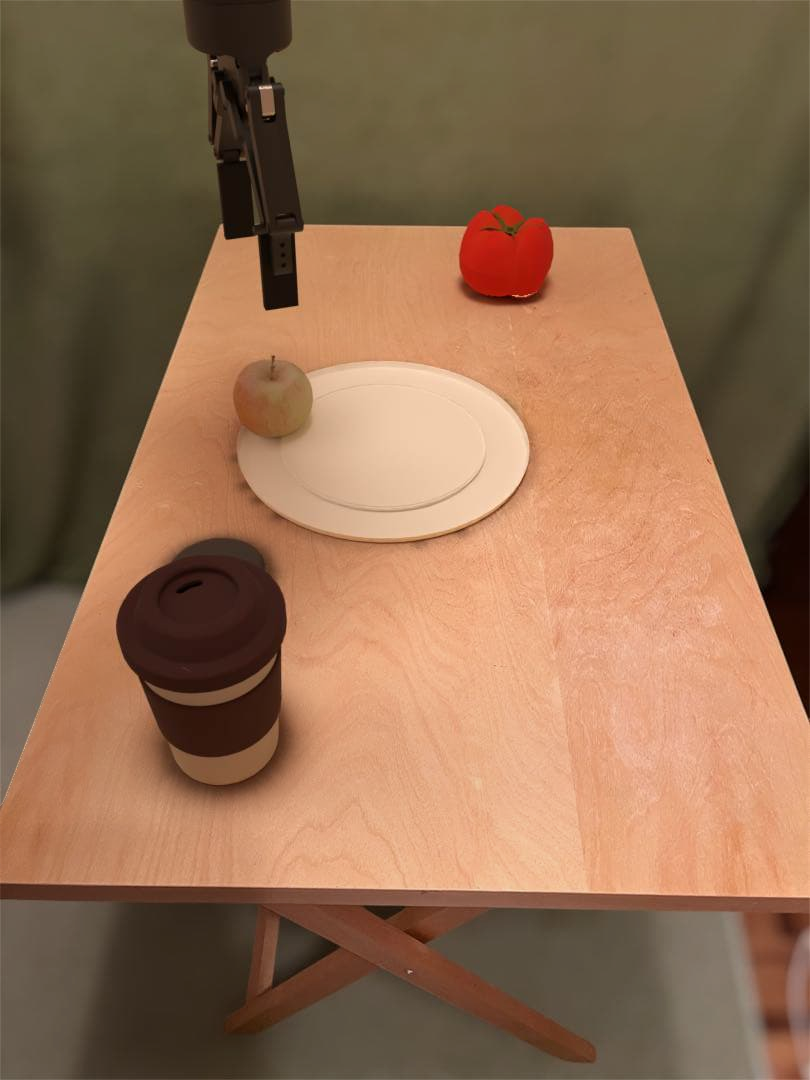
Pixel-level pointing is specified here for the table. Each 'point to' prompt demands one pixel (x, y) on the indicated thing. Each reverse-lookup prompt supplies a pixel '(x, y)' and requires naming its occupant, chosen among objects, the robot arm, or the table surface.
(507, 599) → the table surface
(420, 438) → the plate
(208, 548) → the slate coaster
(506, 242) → the tomato
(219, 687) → the coffee cup
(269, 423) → the fruit
